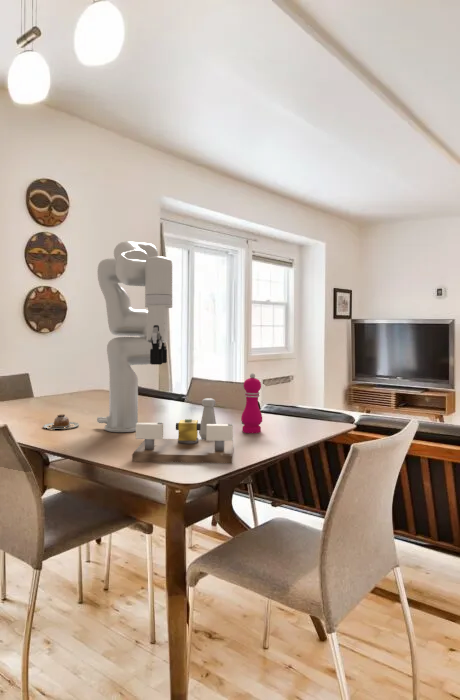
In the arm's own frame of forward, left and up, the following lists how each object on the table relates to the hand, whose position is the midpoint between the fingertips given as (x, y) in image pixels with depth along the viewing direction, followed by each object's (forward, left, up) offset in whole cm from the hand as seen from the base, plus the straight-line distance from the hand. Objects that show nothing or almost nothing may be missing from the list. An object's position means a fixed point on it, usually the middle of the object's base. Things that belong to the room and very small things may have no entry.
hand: (158, 363), depth 140 cm
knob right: (+17, -5, -23) cm, 29 cm away
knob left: (-2, -5, -23) cm, 24 cm away
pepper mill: (+27, +31, -25) cm, 48 cm away
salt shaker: (+13, +17, -25) cm, 33 cm away
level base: (+8, -1, -25) cm, 26 cm away
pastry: (-39, +33, -26) cm, 57 cm away
